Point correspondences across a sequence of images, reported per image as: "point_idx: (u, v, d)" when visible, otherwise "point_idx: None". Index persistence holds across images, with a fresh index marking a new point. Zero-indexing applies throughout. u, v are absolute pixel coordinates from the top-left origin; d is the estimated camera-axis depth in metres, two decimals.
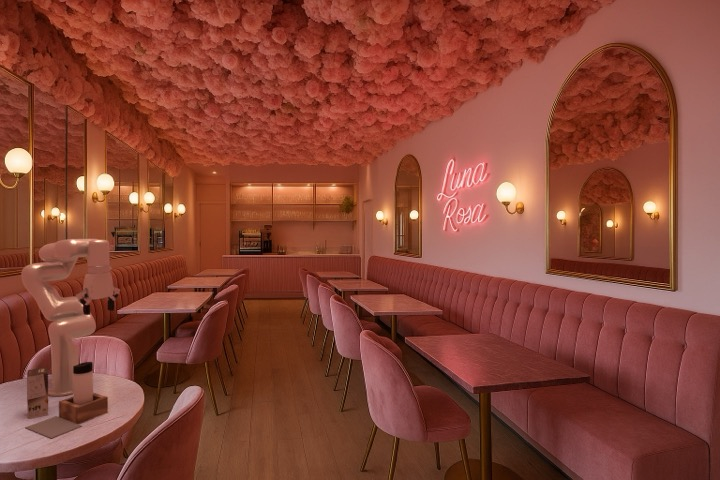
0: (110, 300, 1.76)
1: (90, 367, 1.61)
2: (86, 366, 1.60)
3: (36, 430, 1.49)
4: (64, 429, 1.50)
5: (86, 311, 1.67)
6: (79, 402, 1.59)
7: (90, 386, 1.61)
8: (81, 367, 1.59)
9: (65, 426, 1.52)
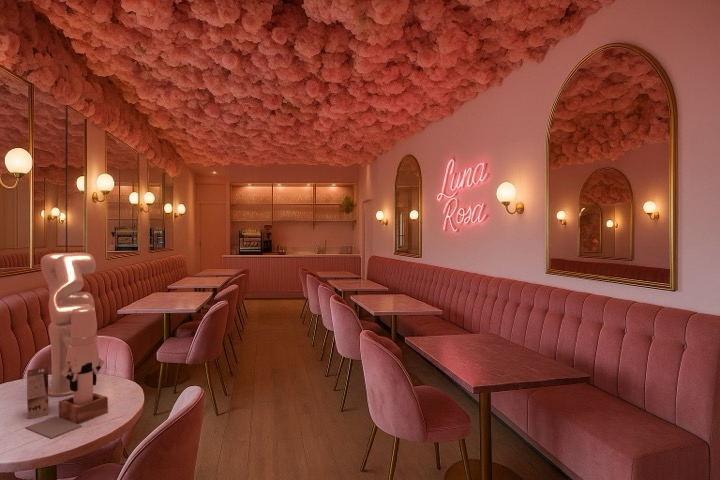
0: None
1: (90, 367, 1.61)
2: (86, 366, 1.60)
3: (36, 430, 1.49)
4: (64, 429, 1.50)
5: (73, 387, 1.58)
6: (79, 401, 1.59)
7: (90, 386, 1.61)
8: None
9: (65, 426, 1.52)
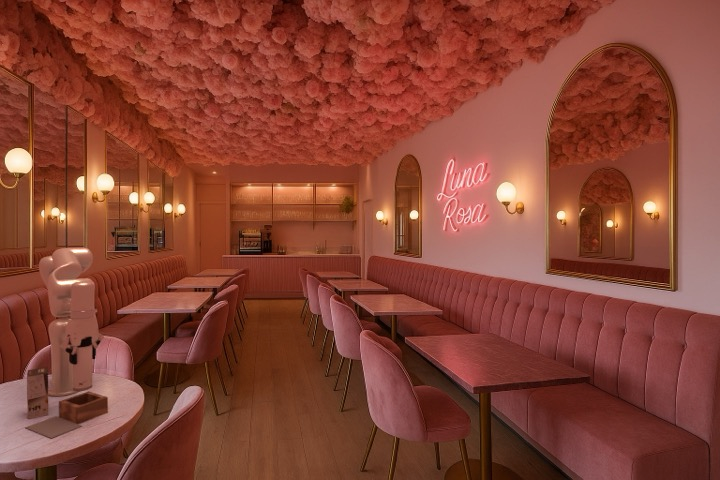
0: None
1: (90, 341, 1.61)
2: (86, 340, 1.60)
3: (36, 430, 1.49)
4: (64, 429, 1.50)
5: (72, 360, 1.58)
6: (78, 375, 1.59)
7: (90, 360, 1.61)
8: (81, 340, 1.59)
9: (65, 426, 1.52)
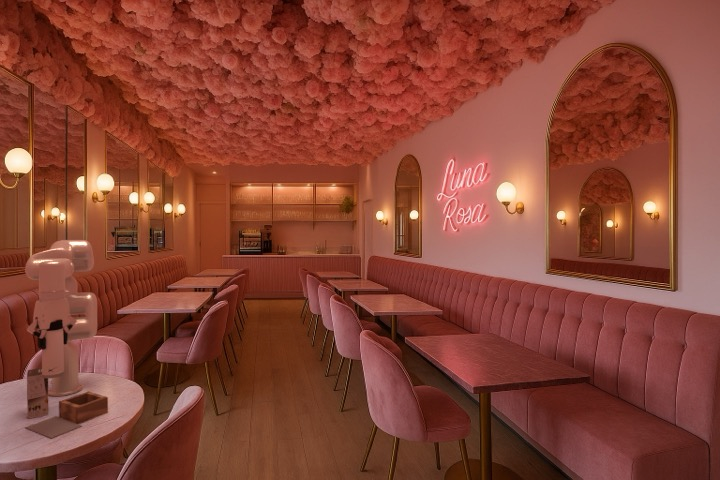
0: None
1: (60, 324, 1.50)
2: (56, 323, 1.49)
3: (36, 430, 1.49)
4: (64, 429, 1.50)
5: (41, 345, 1.47)
6: (47, 360, 1.48)
7: (60, 344, 1.50)
8: (50, 323, 1.48)
9: (65, 426, 1.52)
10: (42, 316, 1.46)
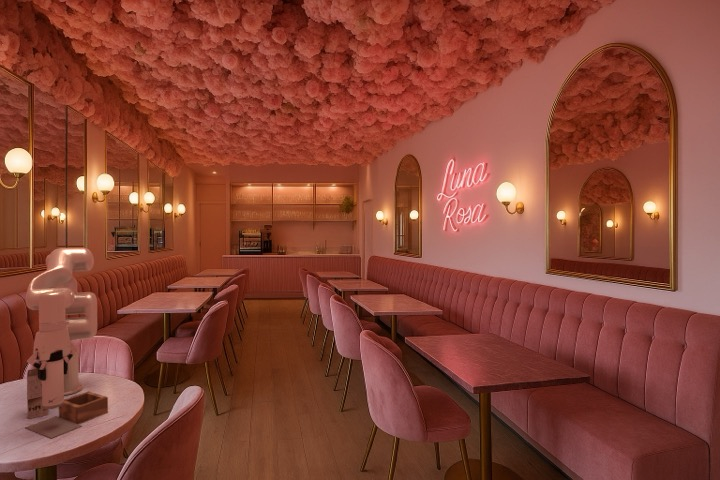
0: None
1: (60, 355, 1.51)
2: (56, 353, 1.49)
3: (36, 430, 1.49)
4: (64, 429, 1.50)
5: (41, 376, 1.47)
6: (48, 391, 1.48)
7: (60, 375, 1.51)
8: (50, 354, 1.48)
9: (65, 426, 1.52)
10: (42, 347, 1.46)
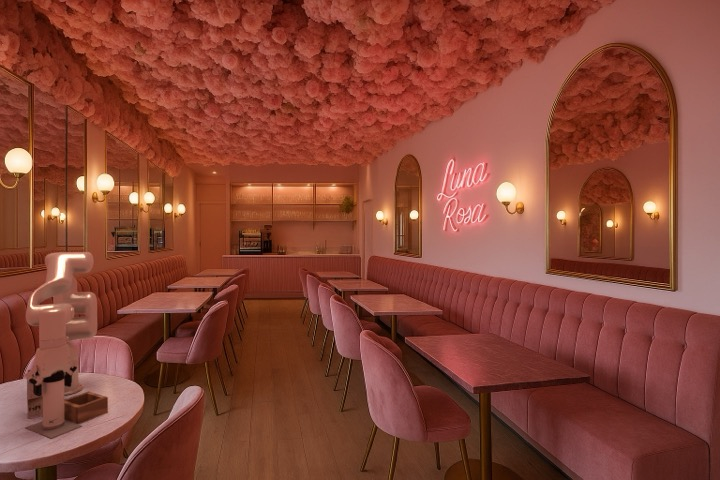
0: (67, 375, 1.55)
1: (61, 375, 1.51)
2: (57, 374, 1.50)
3: (36, 430, 1.49)
4: (64, 429, 1.50)
5: (37, 392, 1.46)
6: (48, 412, 1.49)
7: (61, 395, 1.51)
8: (51, 375, 1.49)
9: (65, 426, 1.52)
10: (42, 364, 1.46)
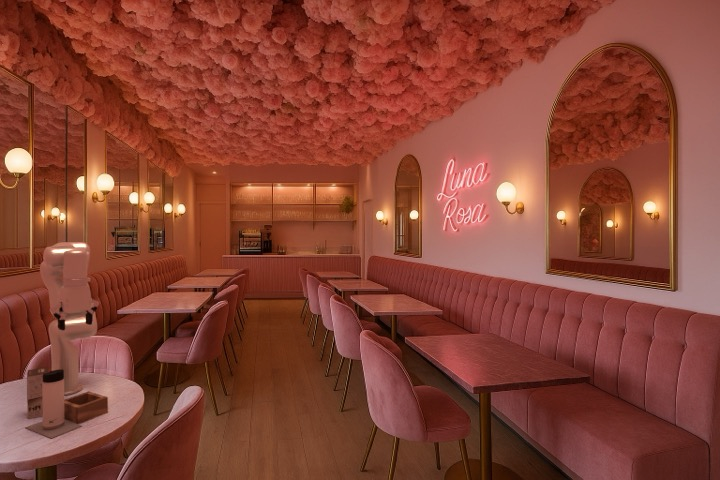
0: (88, 313, 1.67)
1: (61, 375, 1.51)
2: (56, 374, 1.50)
3: (36, 430, 1.49)
4: (64, 429, 1.50)
5: (61, 326, 1.58)
6: (48, 412, 1.49)
7: (61, 395, 1.51)
8: (51, 375, 1.49)
9: (65, 426, 1.52)
10: (66, 301, 1.57)
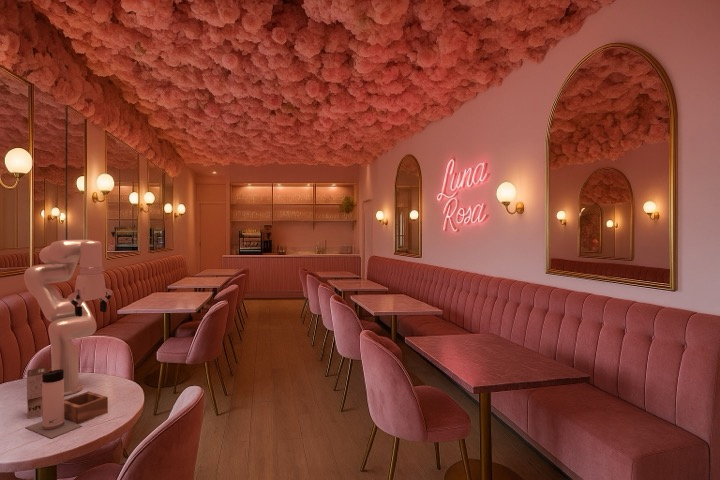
0: (102, 301, 1.75)
1: (61, 375, 1.51)
2: (56, 374, 1.50)
3: (36, 430, 1.49)
4: (64, 429, 1.50)
5: (78, 313, 1.66)
6: (48, 412, 1.49)
7: (61, 395, 1.51)
8: (50, 375, 1.49)
9: (65, 426, 1.52)
10: (83, 288, 1.66)
